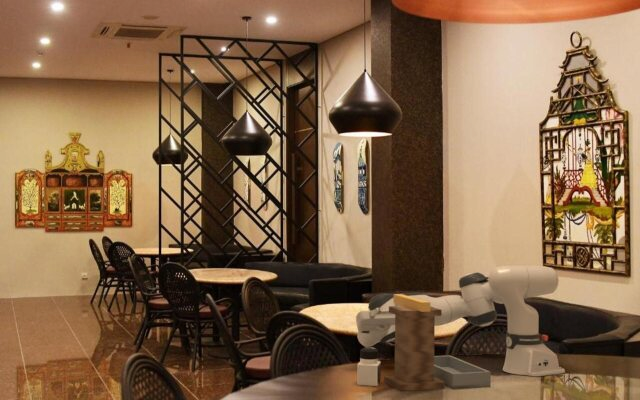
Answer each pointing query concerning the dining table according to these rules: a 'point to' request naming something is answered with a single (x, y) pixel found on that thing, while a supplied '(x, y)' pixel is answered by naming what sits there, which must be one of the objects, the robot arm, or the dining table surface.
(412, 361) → the stand
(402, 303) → the rod
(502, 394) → the dining table surface
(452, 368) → the tray
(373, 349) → the medicine bottle
